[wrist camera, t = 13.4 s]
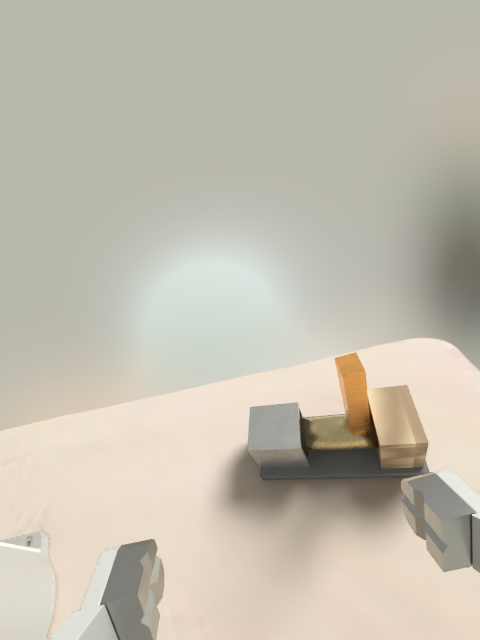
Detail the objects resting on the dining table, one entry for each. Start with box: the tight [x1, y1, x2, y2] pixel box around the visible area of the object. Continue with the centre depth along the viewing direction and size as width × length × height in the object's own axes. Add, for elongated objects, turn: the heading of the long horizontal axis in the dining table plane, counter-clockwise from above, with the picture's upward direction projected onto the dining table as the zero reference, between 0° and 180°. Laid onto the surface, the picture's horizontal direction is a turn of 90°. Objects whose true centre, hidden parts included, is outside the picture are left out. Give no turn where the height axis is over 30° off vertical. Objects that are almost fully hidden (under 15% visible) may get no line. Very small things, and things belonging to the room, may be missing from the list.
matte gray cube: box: [247, 402, 310, 469], centre depth 35 cm, size 6×5×5 cm
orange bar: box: [300, 353, 379, 452], centre depth 29 cm, size 10×4×14 cm, turn 84°
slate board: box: [260, 414, 430, 480], centre depth 35 cm, size 18×7×1 cm, turn 84°
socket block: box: [367, 385, 428, 469], centre depth 31 cm, size 4×6×6 cm, turn 174°
